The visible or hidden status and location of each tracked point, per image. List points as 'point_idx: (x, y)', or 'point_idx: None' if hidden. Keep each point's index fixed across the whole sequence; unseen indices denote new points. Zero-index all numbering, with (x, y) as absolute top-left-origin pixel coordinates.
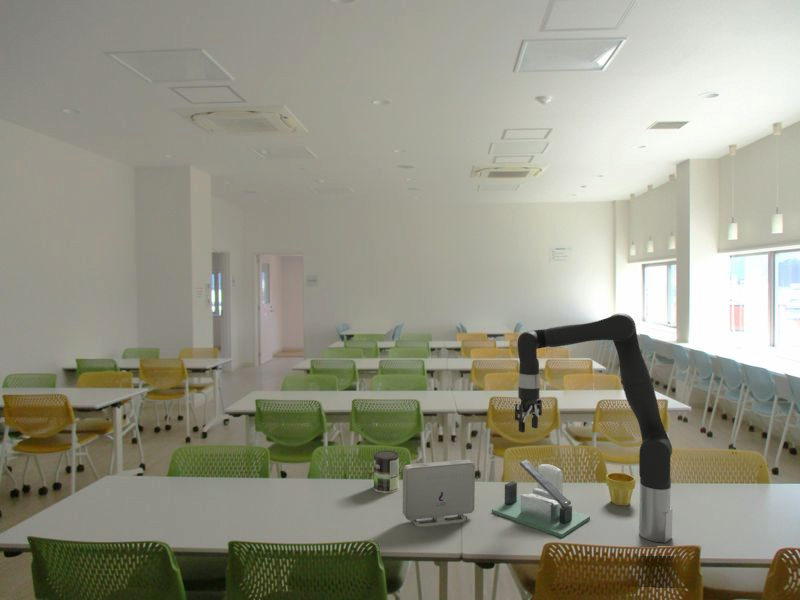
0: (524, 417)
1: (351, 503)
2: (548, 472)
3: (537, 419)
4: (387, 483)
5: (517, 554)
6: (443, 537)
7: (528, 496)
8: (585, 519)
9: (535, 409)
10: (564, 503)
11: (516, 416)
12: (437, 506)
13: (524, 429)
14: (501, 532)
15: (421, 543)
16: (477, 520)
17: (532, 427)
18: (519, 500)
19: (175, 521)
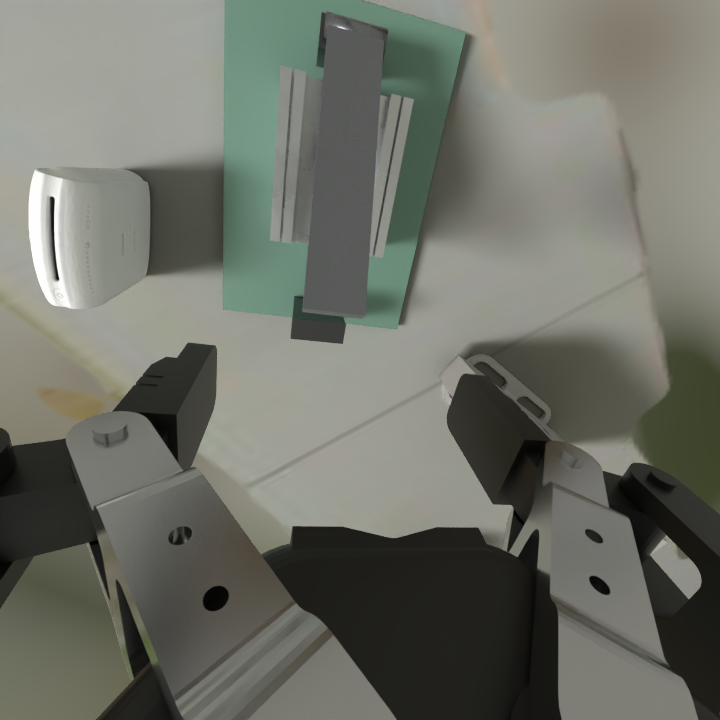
0: (604, 496)
1: (500, 548)
2: (101, 239)
3: (162, 402)
4: None
5: (619, 139)
6: (582, 345)
7: (381, 224)
8: None
9: (262, 594)
10: (376, 32)
11: (653, 574)
12: (535, 419)
13: (488, 386)
14: (504, 242)
15: (623, 364)
16: (461, 331)
17: (214, 395)
18: (277, 293)
19: None
